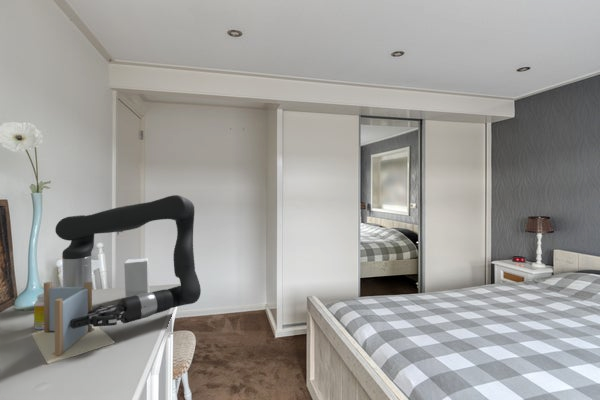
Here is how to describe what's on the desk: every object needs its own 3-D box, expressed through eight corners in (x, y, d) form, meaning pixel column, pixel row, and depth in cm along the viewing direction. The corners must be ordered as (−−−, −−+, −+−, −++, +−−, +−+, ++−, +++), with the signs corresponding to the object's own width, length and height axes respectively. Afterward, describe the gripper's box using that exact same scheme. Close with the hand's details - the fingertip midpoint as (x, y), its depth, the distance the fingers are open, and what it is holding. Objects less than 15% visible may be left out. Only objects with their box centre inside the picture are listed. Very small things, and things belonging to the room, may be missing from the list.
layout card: (31, 334, 93) (31, 333, 93) (90, 319, 104) (90, 318, 104) (47, 364, 78) (47, 362, 78) (114, 342, 89) (114, 341, 89)
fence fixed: (42, 333, 94) (41, 283, 93) (47, 330, 96) (47, 281, 95) (89, 333, 95) (89, 283, 94) (93, 330, 97) (93, 281, 96)
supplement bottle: (47, 330, 96) (47, 297, 96) (29, 330, 96) (29, 297, 96) (61, 322, 102) (60, 291, 102) (43, 322, 102) (43, 291, 101)
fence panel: (83, 331, 94) (83, 284, 94) (87, 331, 94) (87, 284, 94) (54, 355, 80) (54, 300, 80) (60, 355, 81) (59, 300, 80)
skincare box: (149, 294, 130) (149, 257, 129) (148, 299, 124) (148, 261, 123) (127, 296, 127) (127, 258, 126) (124, 302, 121) (124, 262, 120)
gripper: (129, 290, 102) (65, 304, 89) (146, 300, 93) (77, 317, 80) (129, 313, 102) (65, 330, 89) (147, 324, 94) (78, 346, 81)
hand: (71, 324), depth 85 cm, fingers closed
